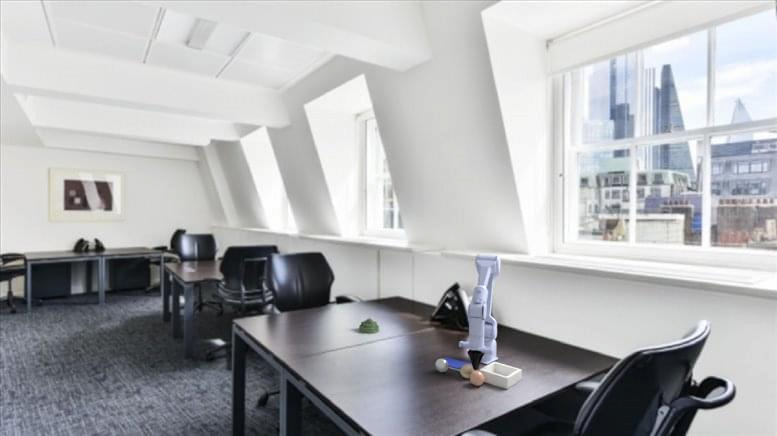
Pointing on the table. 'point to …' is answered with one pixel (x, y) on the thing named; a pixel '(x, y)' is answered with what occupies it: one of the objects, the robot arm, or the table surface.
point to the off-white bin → (501, 375)
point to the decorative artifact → (369, 327)
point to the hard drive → (455, 363)
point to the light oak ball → (466, 370)
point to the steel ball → (441, 365)
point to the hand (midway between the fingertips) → (475, 369)
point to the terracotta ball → (477, 378)
